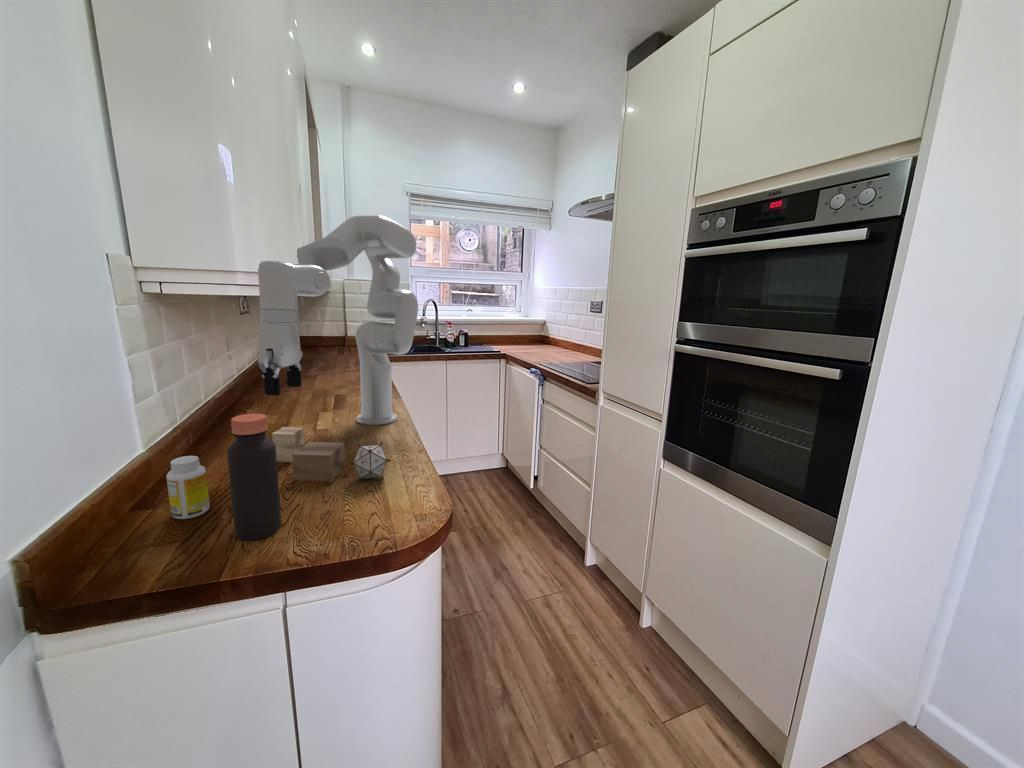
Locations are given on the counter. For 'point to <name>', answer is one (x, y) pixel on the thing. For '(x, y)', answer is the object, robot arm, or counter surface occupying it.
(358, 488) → the counter surface
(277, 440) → the pale wooden block
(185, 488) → the supplement bottle
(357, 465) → the game die
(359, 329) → the robot arm
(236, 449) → the water bottle
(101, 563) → the counter surface
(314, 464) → the walnut block
